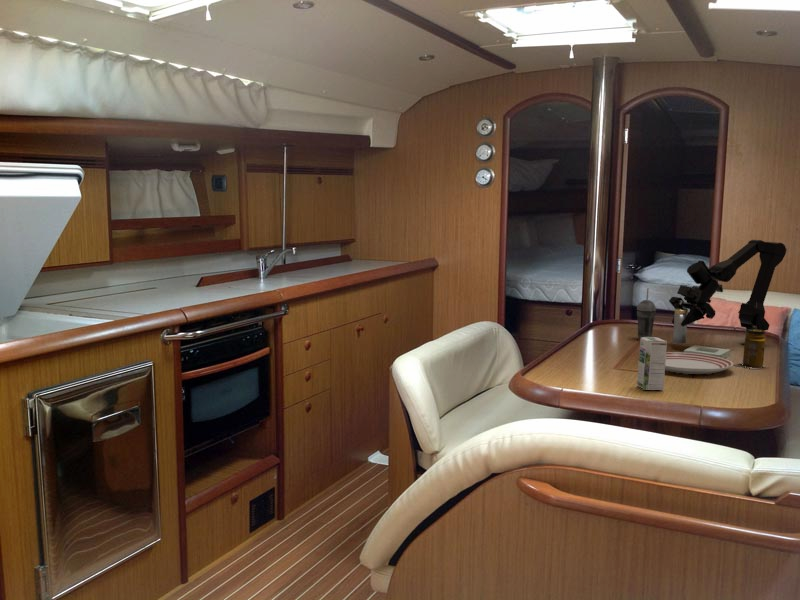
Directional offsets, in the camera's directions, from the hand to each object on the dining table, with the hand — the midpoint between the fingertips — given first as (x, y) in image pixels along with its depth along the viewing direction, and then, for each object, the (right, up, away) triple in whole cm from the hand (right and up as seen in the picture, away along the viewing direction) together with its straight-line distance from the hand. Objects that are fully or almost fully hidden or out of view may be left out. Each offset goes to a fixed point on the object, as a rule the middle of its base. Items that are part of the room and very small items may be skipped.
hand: (677, 324), depth 265 cm
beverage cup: (-6, -7, +19) cm, 21 cm away
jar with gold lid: (+1, -7, +1) cm, 7 cm away
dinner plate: (-8, -14, -28) cm, 32 cm away
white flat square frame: (+7, -11, -8) cm, 15 cm away
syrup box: (-28, -17, -55) cm, 64 cm away
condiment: (+15, -13, -24) cm, 31 cm away
